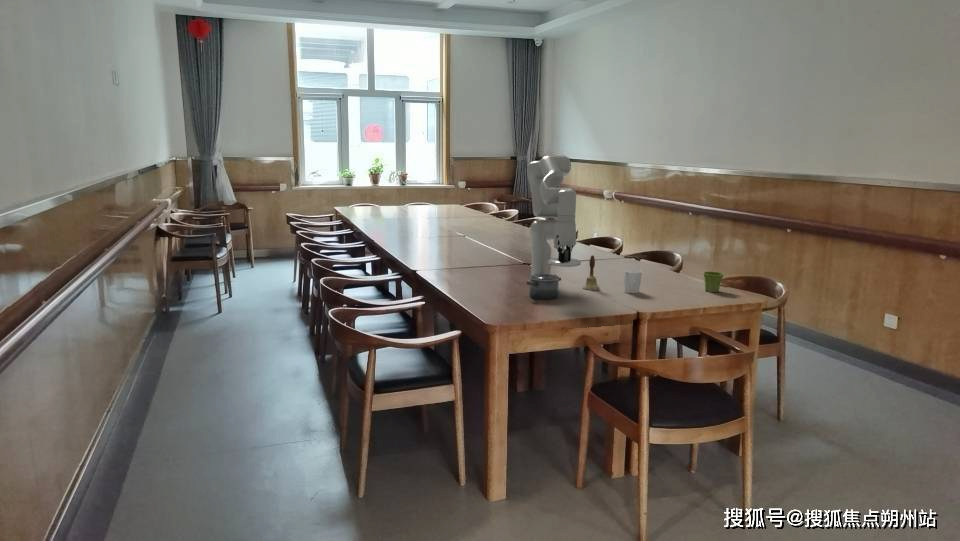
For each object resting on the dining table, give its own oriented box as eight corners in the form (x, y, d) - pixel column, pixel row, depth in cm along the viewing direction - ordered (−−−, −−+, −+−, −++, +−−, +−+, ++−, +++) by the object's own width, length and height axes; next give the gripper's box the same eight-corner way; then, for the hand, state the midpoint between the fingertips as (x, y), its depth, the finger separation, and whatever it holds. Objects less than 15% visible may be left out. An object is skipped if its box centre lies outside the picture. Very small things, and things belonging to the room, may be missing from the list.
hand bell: (579, 287, 312) (580, 254, 309) (594, 285, 315) (595, 253, 312) (587, 290, 304) (589, 257, 301) (603, 289, 307) (604, 256, 304)
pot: (546, 290, 303) (546, 272, 301) (567, 296, 293) (568, 276, 292) (519, 296, 292) (519, 277, 290) (540, 302, 282) (541, 282, 280)
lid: (562, 258, 288) (563, 245, 287) (587, 263, 278) (588, 250, 277) (541, 262, 279) (542, 249, 278) (566, 268, 269) (566, 254, 268)
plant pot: (724, 290, 308) (725, 272, 307) (720, 294, 300) (721, 276, 299) (704, 288, 313) (705, 270, 311) (699, 291, 305) (701, 273, 303)
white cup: (628, 294, 298) (629, 273, 296) (620, 290, 306) (621, 270, 304) (643, 293, 300) (644, 272, 298) (635, 289, 308) (636, 269, 306)
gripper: (572, 216, 282) (570, 257, 286) (546, 219, 272) (545, 262, 276) (585, 218, 277) (583, 260, 281) (560, 221, 266) (558, 264, 270)
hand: (564, 260), depth 278 cm, fingers closed on lid, 3 cm apart
